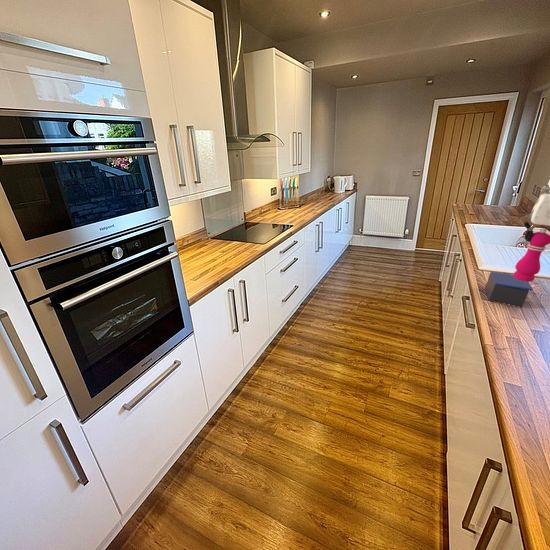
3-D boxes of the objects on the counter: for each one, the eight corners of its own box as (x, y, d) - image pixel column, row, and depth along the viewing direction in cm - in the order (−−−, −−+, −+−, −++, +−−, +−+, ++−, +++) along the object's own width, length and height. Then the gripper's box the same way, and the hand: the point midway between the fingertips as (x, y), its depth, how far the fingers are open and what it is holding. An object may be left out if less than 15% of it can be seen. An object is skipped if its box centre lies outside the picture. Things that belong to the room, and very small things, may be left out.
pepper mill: (538, 283, 108) (561, 232, 99) (515, 280, 110) (536, 229, 102) (530, 275, 114) (551, 226, 106) (508, 273, 116) (528, 224, 108)
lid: (524, 277, 128) (524, 276, 127) (532, 290, 117) (532, 289, 116) (490, 273, 133) (490, 271, 133) (494, 284, 122) (495, 283, 122)
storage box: (515, 293, 132) (521, 278, 128) (521, 307, 121) (529, 291, 117) (484, 288, 136) (490, 273, 133) (488, 300, 125) (494, 285, 122)
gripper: (531, 191, 99) (511, 241, 106) (598, 195, 92) (573, 249, 99) (525, 188, 105) (507, 235, 112) (588, 192, 98) (565, 242, 105)
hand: (538, 241), depth 106 cm, fingers closed on pepper mill, 6 cm apart
